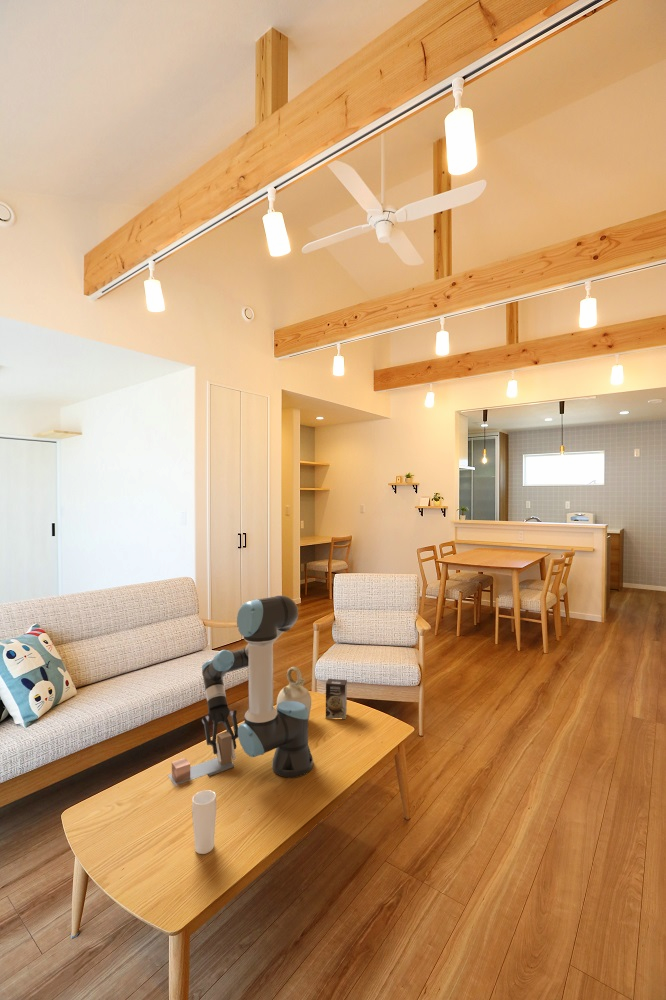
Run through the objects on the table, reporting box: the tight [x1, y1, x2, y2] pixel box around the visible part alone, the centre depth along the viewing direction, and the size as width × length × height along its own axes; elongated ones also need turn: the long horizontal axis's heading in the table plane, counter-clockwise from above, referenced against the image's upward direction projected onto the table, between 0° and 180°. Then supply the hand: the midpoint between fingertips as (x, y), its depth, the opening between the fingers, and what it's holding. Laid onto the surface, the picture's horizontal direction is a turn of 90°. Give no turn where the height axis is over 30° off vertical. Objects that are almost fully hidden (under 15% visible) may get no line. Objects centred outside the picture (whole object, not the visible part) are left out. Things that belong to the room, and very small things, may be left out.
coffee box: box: [325, 678, 348, 720], centre depth 217 cm, size 9×6×16 cm
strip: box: [167, 730, 235, 787], centre depth 174 cm, size 8×22×11 cm, turn 126°
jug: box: [276, 666, 312, 721], centre depth 211 cm, size 15×16×25 cm
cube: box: [171, 757, 191, 783], centre depth 170 cm, size 5×5×5 cm
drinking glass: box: [191, 789, 217, 855], centre depth 137 cm, size 7×7×15 cm
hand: (226, 760), depth 176 cm, fingers closed on strip, 5 cm apart
